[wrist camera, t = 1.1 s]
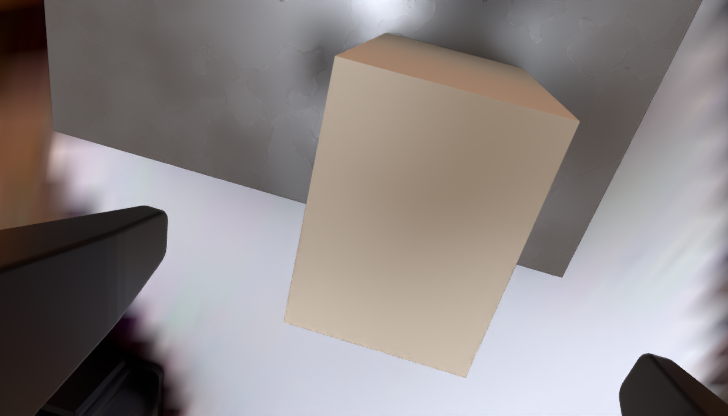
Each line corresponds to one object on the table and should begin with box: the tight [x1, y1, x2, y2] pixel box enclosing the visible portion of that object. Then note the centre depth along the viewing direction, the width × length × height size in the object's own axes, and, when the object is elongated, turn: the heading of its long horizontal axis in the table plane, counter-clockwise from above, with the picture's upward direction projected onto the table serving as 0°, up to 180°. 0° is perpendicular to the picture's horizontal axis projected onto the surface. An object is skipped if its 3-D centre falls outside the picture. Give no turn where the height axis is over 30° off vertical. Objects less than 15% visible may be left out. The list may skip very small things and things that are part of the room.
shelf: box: [44, 0, 702, 277], centre depth 16 cm, size 13×23×3 cm, turn 78°
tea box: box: [284, 33, 580, 378], centre depth 14 cm, size 5×7×8 cm
